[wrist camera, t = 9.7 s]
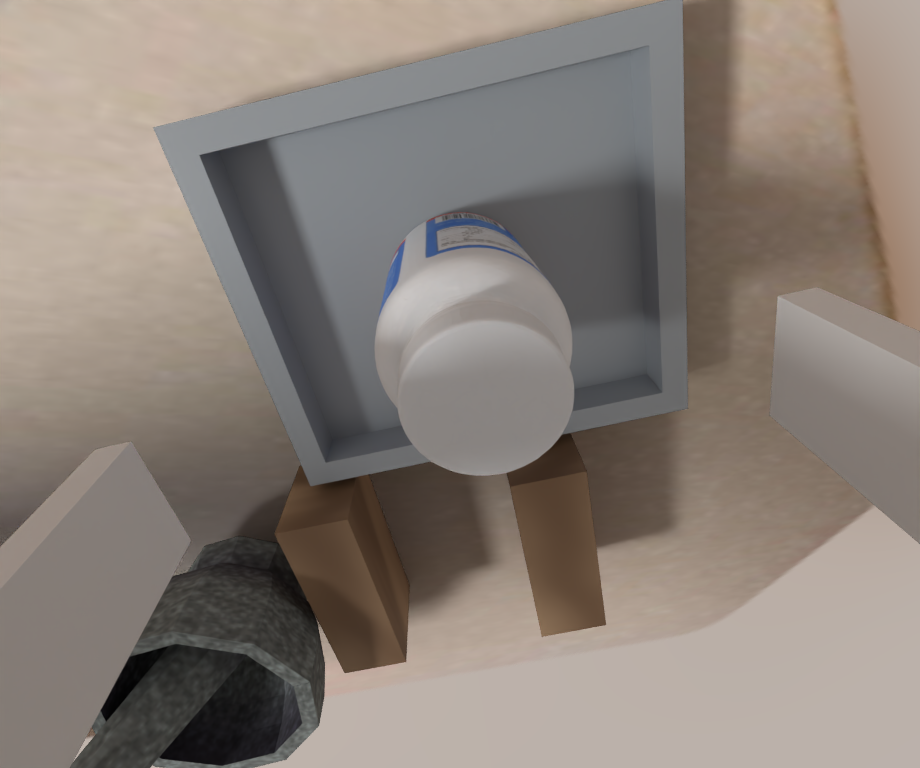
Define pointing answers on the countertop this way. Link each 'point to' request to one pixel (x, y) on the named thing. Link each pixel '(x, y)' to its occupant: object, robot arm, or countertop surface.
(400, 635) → the slot holder
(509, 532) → the countertop surface
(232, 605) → the mortar and pestle
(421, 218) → the tray
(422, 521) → the countertop surface
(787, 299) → the robot arm
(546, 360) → the pill bottle
